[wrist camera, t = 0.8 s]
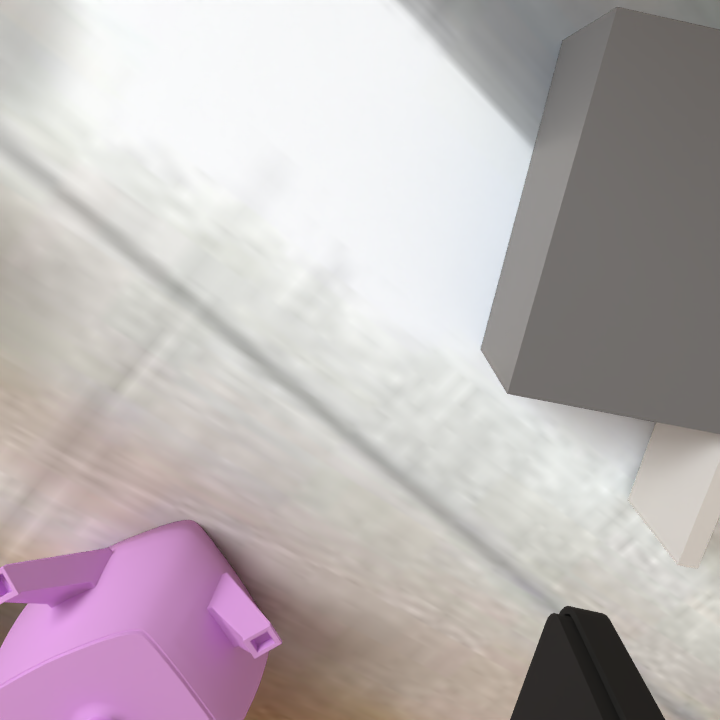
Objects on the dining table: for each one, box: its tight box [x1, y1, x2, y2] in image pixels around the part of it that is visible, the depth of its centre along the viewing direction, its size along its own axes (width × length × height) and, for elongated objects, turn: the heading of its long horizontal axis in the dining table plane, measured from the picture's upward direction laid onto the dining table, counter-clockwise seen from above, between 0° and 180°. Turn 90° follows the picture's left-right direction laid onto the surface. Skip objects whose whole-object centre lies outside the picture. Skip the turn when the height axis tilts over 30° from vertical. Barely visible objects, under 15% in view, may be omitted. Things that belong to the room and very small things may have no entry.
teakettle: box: [0, 520, 282, 720], centre depth 41 cm, size 17×17×12 cm
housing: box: [481, 7, 720, 434], centre depth 34 cm, size 18×12×8 cm, turn 169°
